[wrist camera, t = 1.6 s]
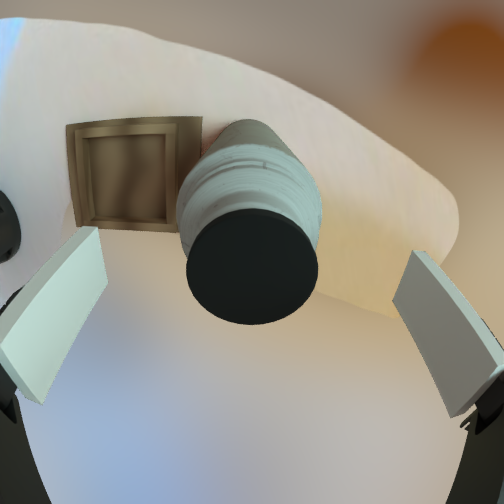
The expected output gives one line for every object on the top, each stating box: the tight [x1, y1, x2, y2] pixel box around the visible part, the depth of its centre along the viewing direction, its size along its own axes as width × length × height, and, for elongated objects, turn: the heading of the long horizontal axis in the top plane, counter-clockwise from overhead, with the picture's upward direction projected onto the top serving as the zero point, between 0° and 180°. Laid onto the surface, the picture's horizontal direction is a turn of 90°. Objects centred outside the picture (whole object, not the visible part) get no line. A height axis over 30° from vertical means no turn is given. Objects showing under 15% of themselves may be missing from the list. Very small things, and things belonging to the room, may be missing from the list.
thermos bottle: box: [176, 119, 322, 325], centre depth 22 cm, size 8×8×28 cm
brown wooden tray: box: [66, 116, 202, 233], centre depth 35 cm, size 20×16×2 cm
